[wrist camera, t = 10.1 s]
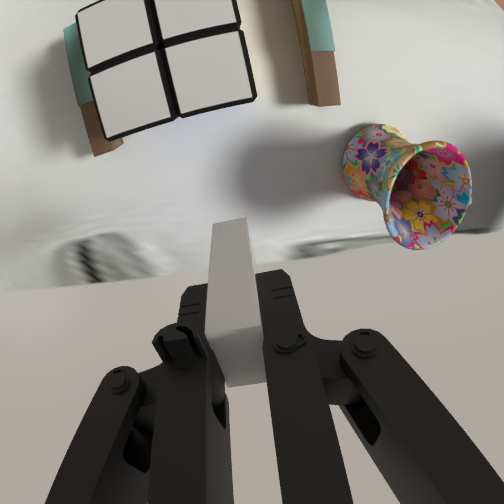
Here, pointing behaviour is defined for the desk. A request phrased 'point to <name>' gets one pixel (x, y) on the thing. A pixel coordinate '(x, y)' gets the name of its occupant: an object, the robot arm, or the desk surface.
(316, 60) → the channel
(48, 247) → the desk surface
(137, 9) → the puzzle cube
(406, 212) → the mug
